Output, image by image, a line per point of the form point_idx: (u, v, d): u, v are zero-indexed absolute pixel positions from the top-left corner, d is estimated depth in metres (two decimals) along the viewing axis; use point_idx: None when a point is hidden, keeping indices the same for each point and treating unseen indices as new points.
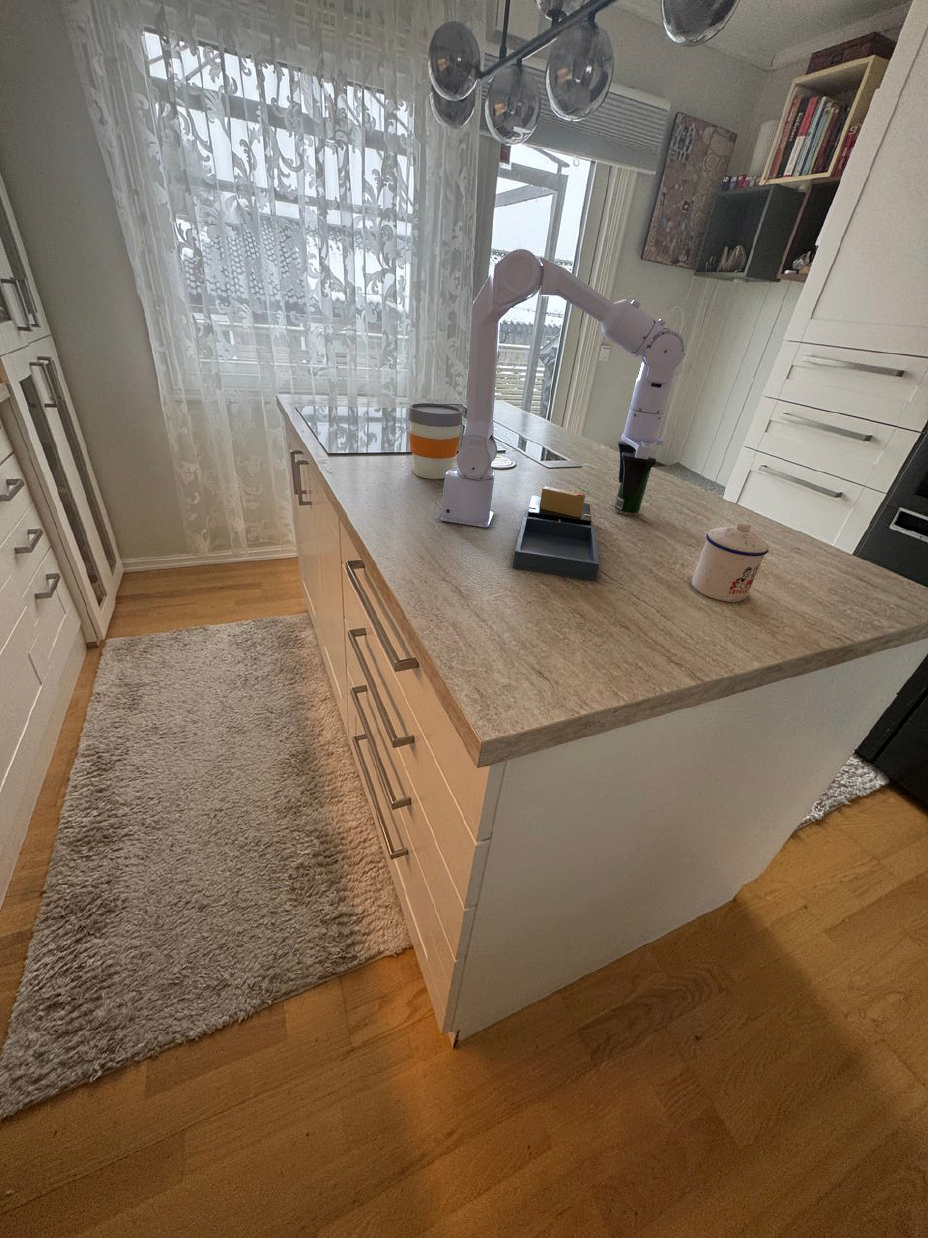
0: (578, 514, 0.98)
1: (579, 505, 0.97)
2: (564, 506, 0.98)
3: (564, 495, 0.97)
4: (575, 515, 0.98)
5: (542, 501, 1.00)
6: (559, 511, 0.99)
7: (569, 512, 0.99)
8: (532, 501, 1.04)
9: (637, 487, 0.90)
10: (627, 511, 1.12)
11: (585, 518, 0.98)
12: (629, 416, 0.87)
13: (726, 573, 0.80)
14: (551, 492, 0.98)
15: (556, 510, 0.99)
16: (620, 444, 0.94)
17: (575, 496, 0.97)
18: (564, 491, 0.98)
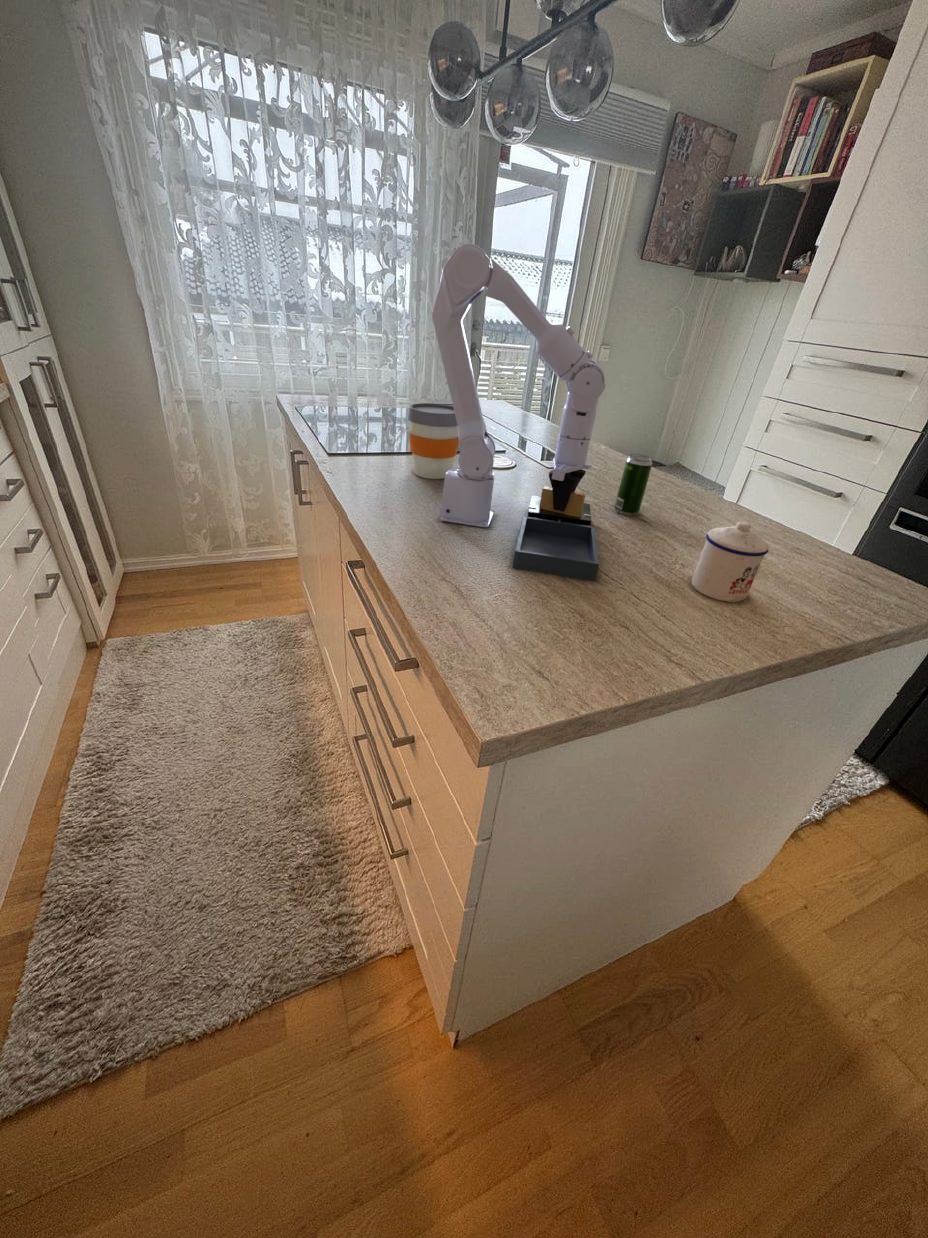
0: (578, 514, 0.98)
1: (579, 505, 0.97)
2: None
3: None
4: (575, 515, 0.98)
5: (542, 501, 1.00)
6: (559, 511, 0.99)
7: (569, 512, 0.99)
8: (532, 501, 1.04)
9: (565, 503, 0.97)
10: (627, 511, 1.12)
11: (585, 518, 0.98)
12: None
13: (726, 573, 0.80)
14: (551, 492, 0.98)
15: (556, 510, 0.99)
16: None
17: (575, 496, 0.97)
18: None
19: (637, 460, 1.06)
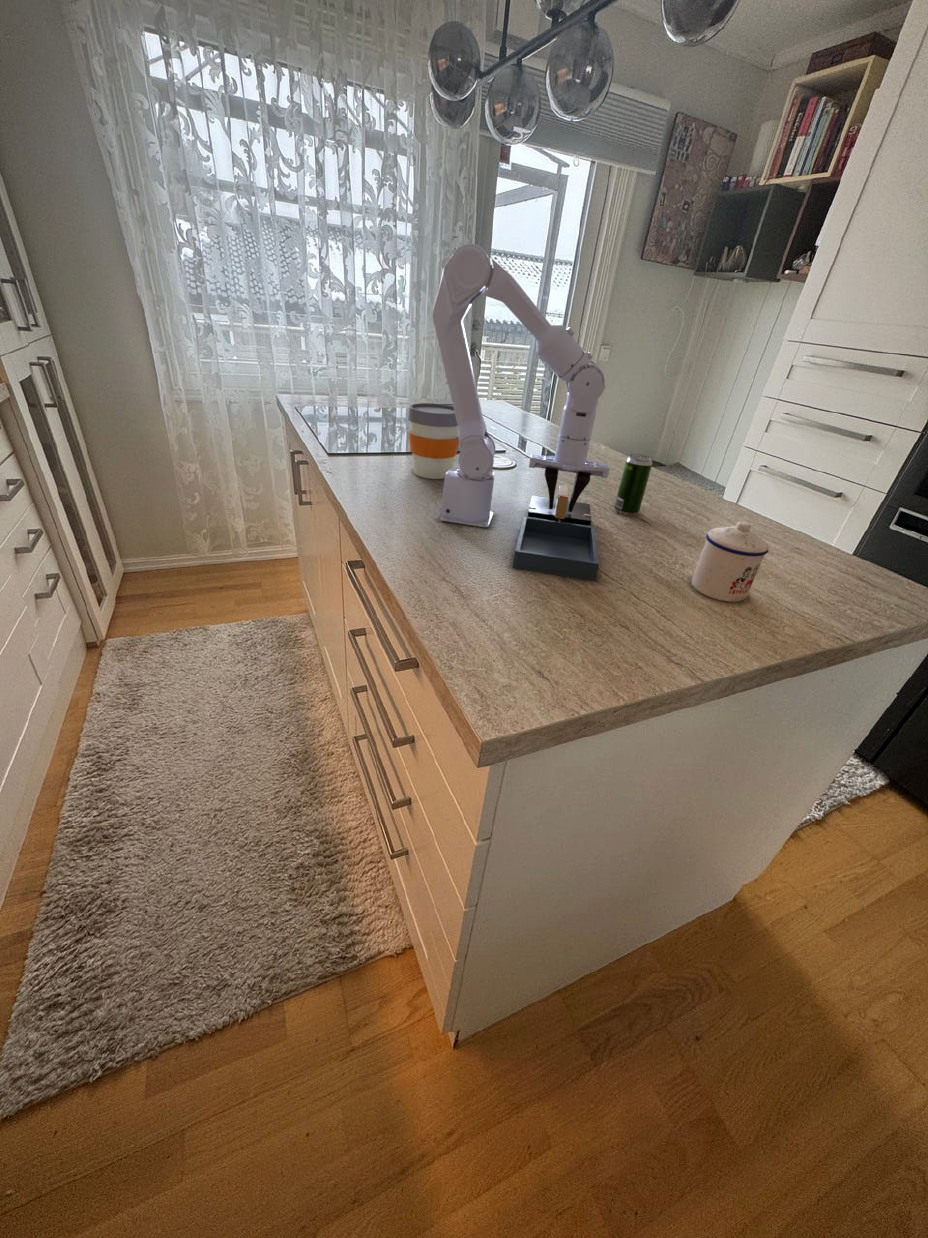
0: None
1: (557, 505, 0.96)
2: (556, 504, 0.99)
3: (558, 493, 0.98)
4: (555, 514, 0.97)
5: (557, 497, 1.03)
6: None
7: (555, 511, 0.98)
8: (532, 501, 1.04)
9: (549, 500, 0.98)
10: (627, 511, 1.12)
11: (585, 518, 0.98)
12: None
13: (726, 573, 0.80)
14: None
15: None
16: None
17: (558, 495, 0.96)
18: (563, 491, 0.98)
19: (637, 460, 1.06)
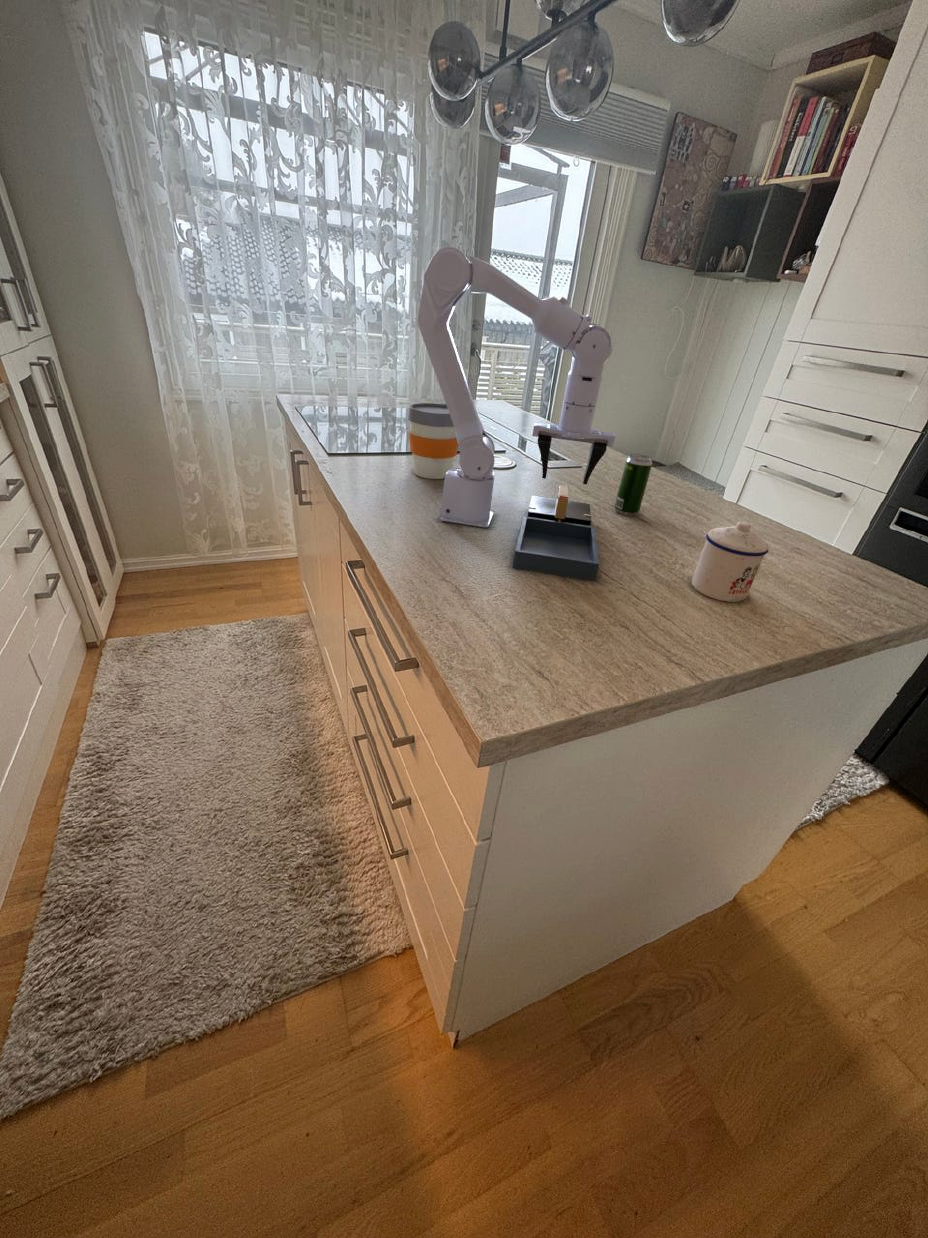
0: None
1: (557, 505, 0.96)
2: (556, 504, 0.99)
3: (558, 493, 0.98)
4: (555, 514, 0.97)
5: (557, 497, 1.03)
6: None
7: (555, 511, 0.98)
8: (532, 501, 1.04)
9: None
10: (627, 511, 1.12)
11: (585, 518, 0.98)
12: None
13: (726, 573, 0.80)
14: None
15: None
16: None
17: (558, 495, 0.96)
18: (563, 491, 0.98)
19: (637, 460, 1.06)
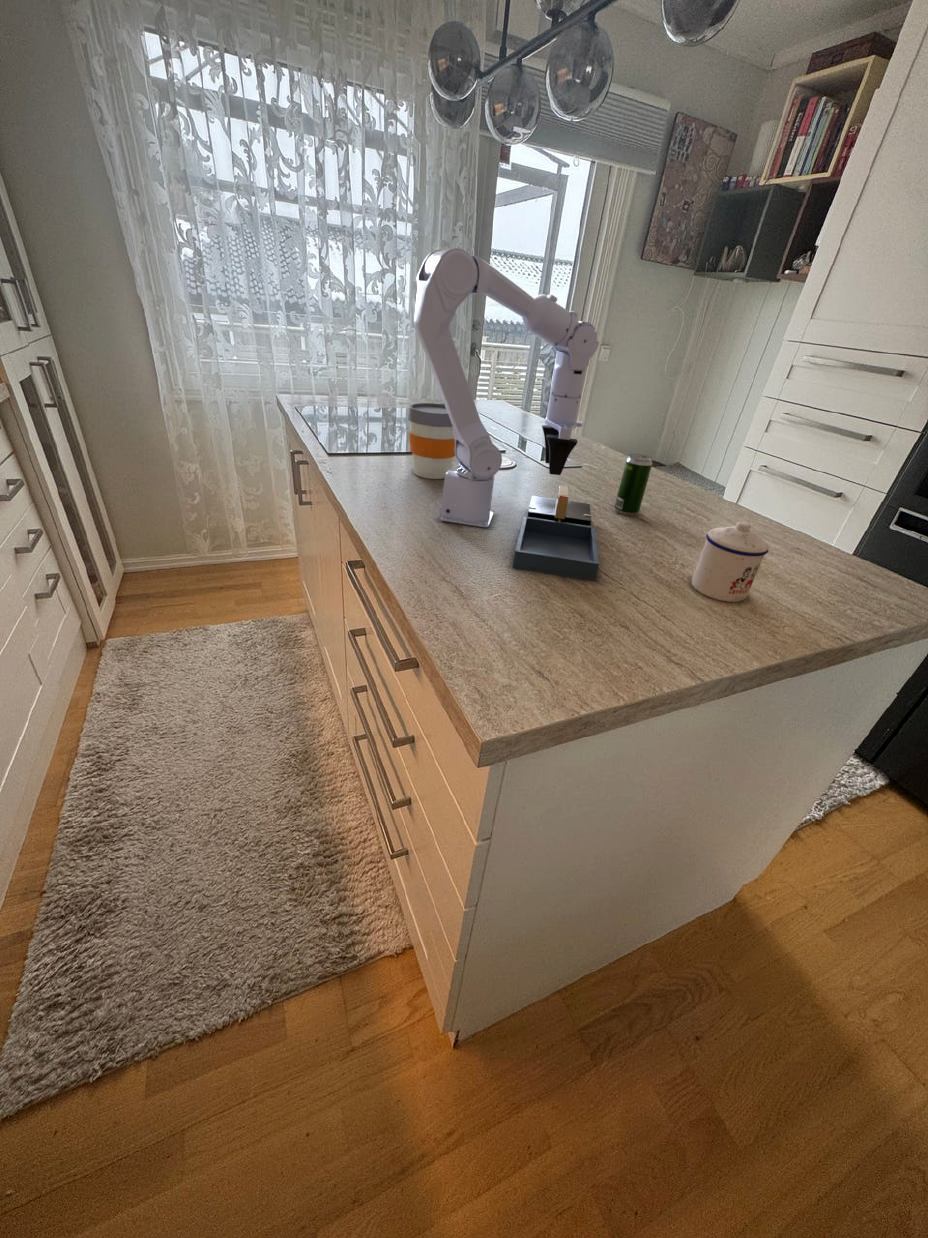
0: None
1: (557, 505, 0.96)
2: (556, 504, 0.99)
3: (558, 493, 0.98)
4: (555, 514, 0.97)
5: (557, 497, 1.03)
6: None
7: (555, 511, 0.98)
8: (532, 501, 1.04)
9: (562, 466, 0.98)
10: (627, 511, 1.12)
11: (585, 518, 0.98)
12: (550, 401, 0.95)
13: (726, 573, 0.80)
14: None
15: None
16: (544, 427, 1.02)
17: (558, 495, 0.96)
18: (563, 491, 0.98)
19: (637, 460, 1.06)
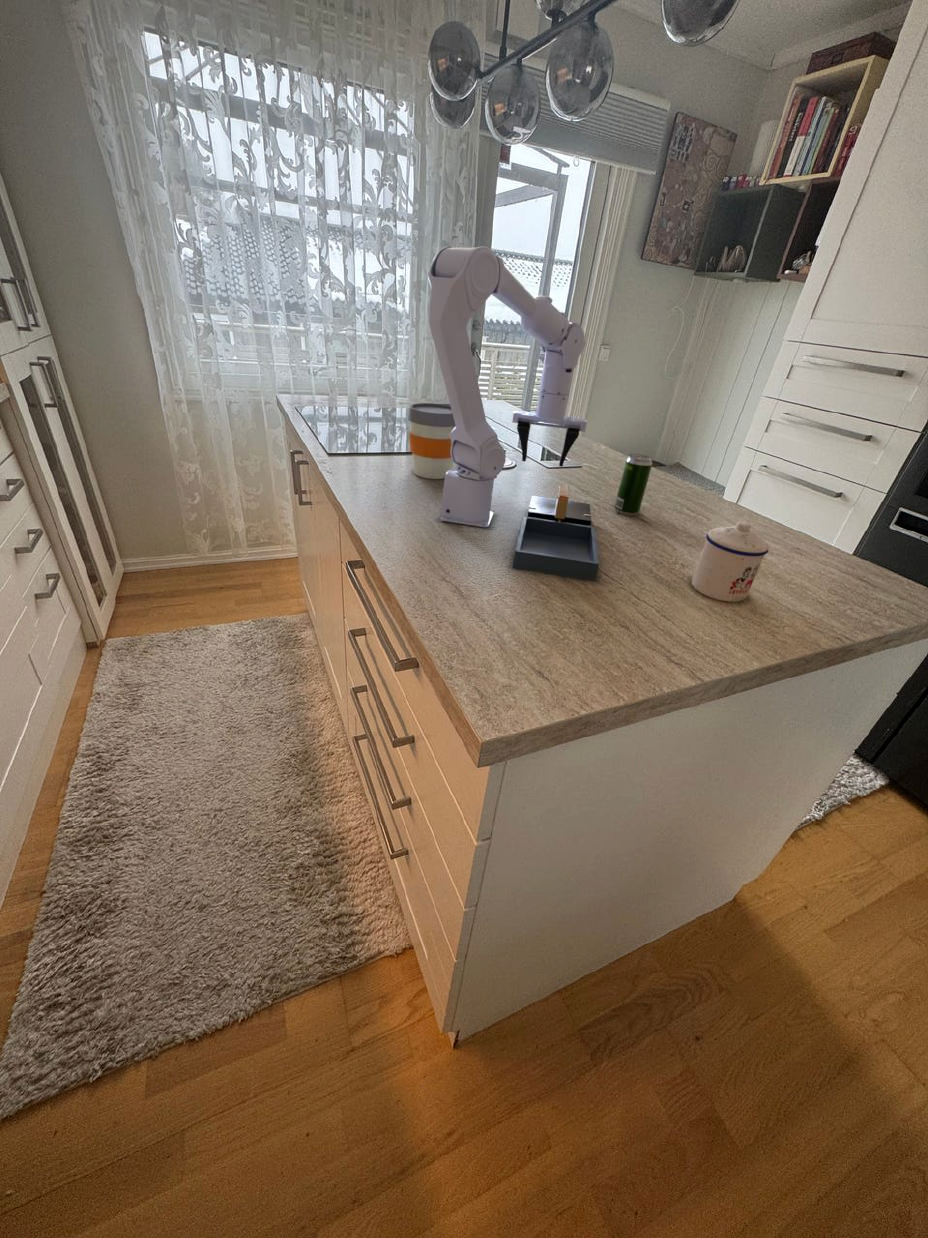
0: None
1: (557, 505, 0.96)
2: (556, 504, 0.99)
3: (558, 493, 0.98)
4: (555, 514, 0.97)
5: (557, 497, 1.03)
6: None
7: (555, 511, 0.98)
8: (532, 501, 1.04)
9: None
10: (627, 511, 1.12)
11: (585, 518, 0.98)
12: (557, 401, 0.98)
13: (726, 573, 0.80)
14: None
15: None
16: (527, 428, 1.02)
17: (558, 495, 0.96)
18: (563, 491, 0.98)
19: (637, 460, 1.06)
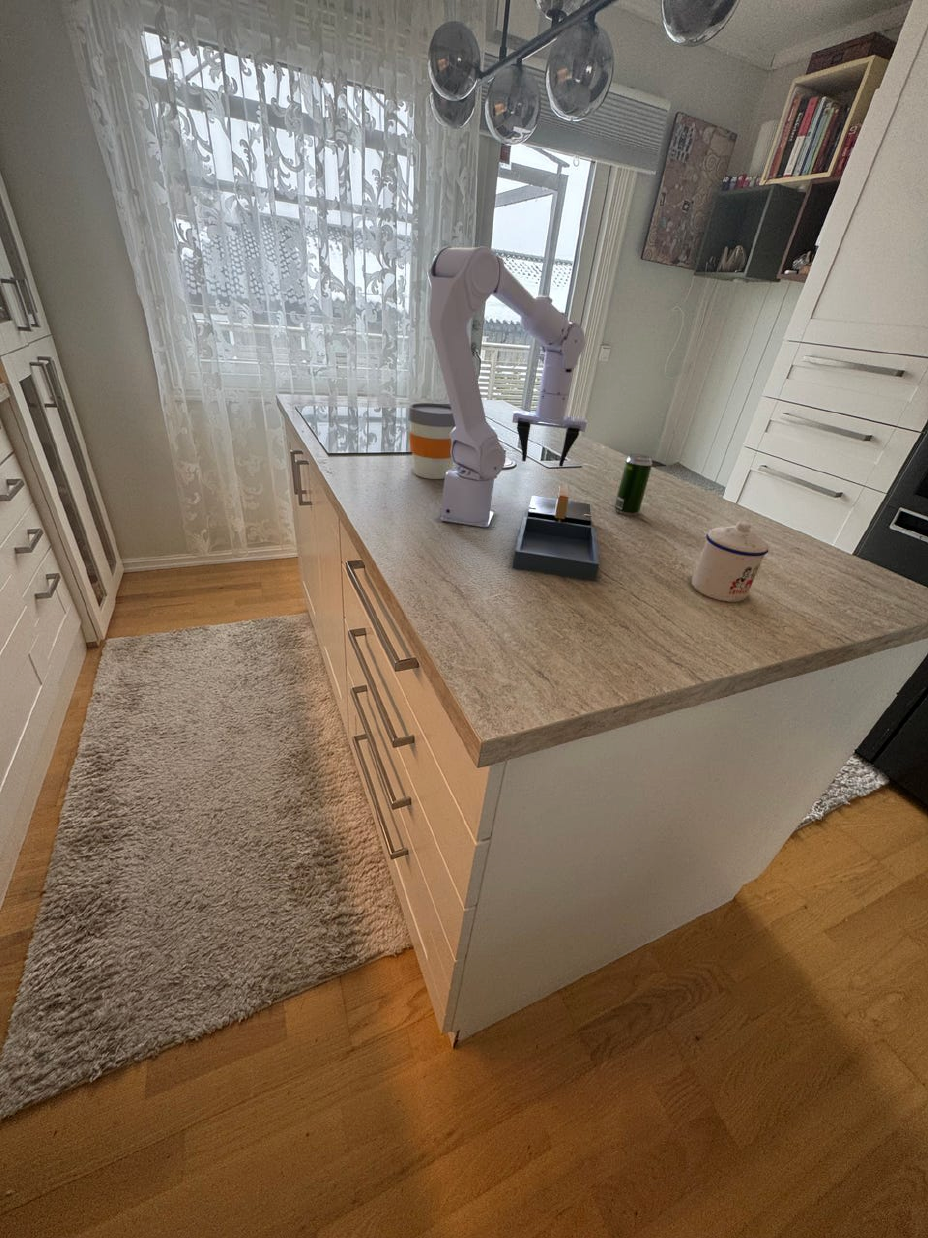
0: None
1: (557, 505, 0.96)
2: (556, 504, 0.99)
3: (558, 493, 0.98)
4: (555, 514, 0.97)
5: (557, 497, 1.03)
6: None
7: (555, 511, 0.98)
8: (532, 501, 1.04)
9: None
10: (627, 511, 1.12)
11: (585, 518, 0.98)
12: (557, 401, 0.98)
13: (726, 573, 0.80)
14: None
15: None
16: (527, 428, 1.02)
17: (558, 495, 0.96)
18: (563, 491, 0.98)
19: (637, 460, 1.06)
